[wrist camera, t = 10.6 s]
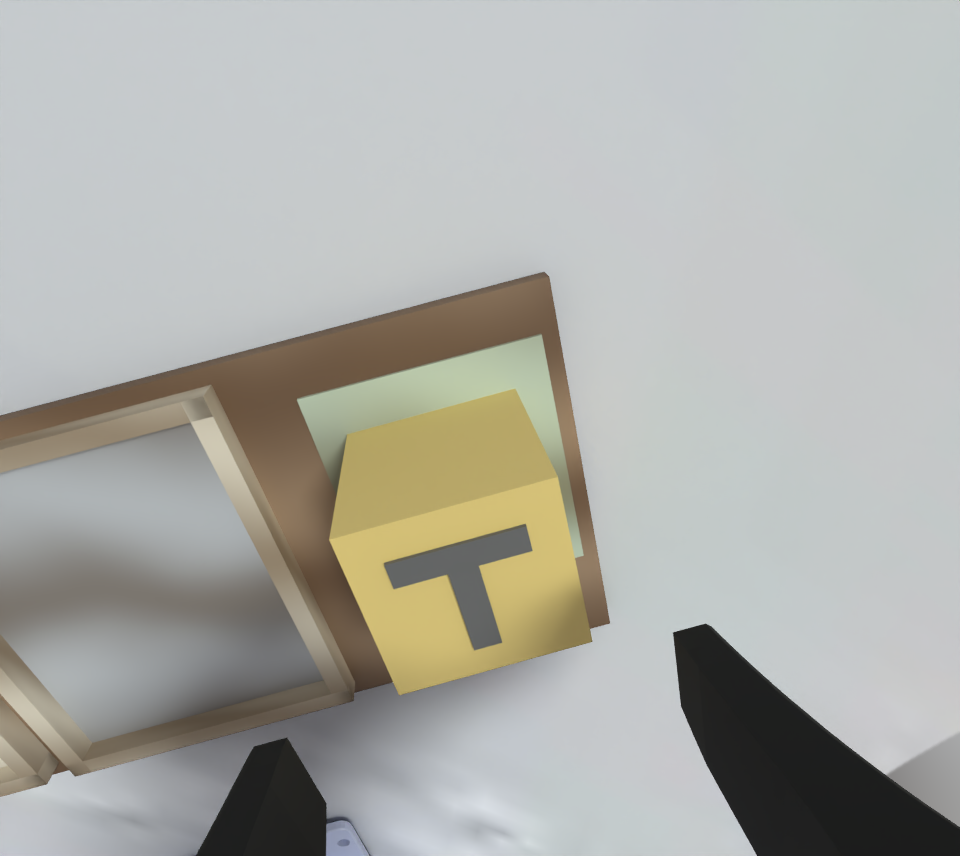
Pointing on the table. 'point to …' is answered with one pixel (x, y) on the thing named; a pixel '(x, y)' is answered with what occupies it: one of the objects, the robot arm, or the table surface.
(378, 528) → the letter cube
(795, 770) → the robot arm
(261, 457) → the organizer board
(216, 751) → the table surface
